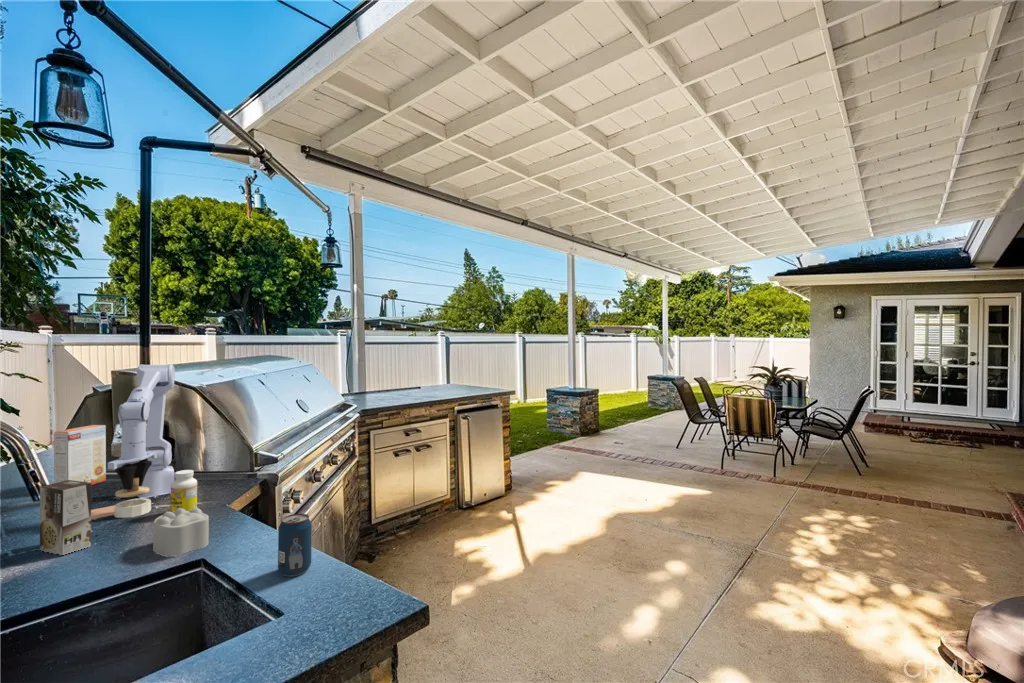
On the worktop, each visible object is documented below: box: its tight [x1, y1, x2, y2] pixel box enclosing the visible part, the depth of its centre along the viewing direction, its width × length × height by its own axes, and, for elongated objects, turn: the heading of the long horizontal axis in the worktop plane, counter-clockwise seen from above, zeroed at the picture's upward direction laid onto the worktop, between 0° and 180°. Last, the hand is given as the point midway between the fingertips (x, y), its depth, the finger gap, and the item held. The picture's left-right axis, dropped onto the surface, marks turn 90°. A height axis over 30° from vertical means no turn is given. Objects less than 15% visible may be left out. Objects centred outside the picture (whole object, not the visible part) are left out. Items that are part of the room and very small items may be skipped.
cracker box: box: [53, 424, 107, 486], centre depth 172 cm, size 14×6×21 cm, turn 174°
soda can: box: [277, 513, 313, 577], centre depth 110 cm, size 7×7×12 cm
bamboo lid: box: [114, 477, 149, 498], centre depth 145 cm, size 8×8×4 cm
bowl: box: [113, 497, 152, 519], centre depth 145 cm, size 8×8×4 cm
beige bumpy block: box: [152, 507, 210, 556], centre depth 123 cm, size 10×13×9 cm
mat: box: [91, 505, 114, 521], centre depth 145 cm, size 10×10×1 cm
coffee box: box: [39, 480, 93, 556], centre depth 121 cm, size 9×6×16 cm
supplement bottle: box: [169, 469, 198, 512], centre depth 145 cm, size 7×7×13 cm
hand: (133, 487), depth 145 cm, fingers closed on bamboo lid, 3 cm apart
